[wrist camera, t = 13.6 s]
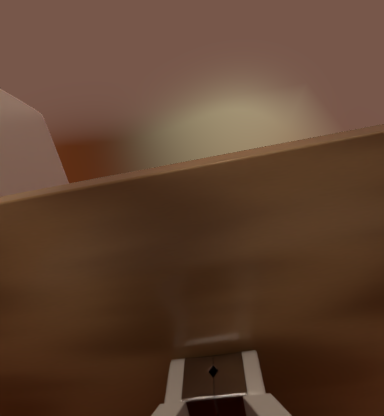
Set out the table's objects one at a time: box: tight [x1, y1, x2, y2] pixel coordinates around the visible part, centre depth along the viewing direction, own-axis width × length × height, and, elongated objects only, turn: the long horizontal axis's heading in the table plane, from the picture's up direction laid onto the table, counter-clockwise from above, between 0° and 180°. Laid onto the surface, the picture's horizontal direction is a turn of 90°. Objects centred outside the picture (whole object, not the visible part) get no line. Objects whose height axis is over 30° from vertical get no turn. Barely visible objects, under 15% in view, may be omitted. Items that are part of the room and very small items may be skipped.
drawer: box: [0, 124, 384, 416], centre depth 16 cm, size 22×14×13 cm, turn 88°
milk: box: [0, 89, 69, 197], centre depth 48 cm, size 12×12×26 cm
